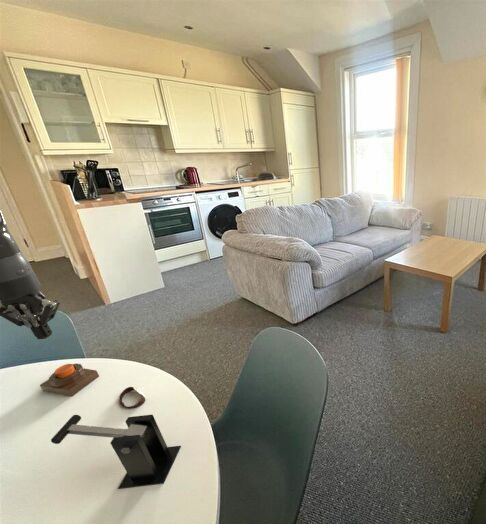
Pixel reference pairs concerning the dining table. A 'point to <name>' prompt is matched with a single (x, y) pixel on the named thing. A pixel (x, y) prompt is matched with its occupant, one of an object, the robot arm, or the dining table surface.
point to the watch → (130, 391)
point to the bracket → (144, 454)
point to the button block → (70, 381)
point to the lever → (97, 430)
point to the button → (64, 371)
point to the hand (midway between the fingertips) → (45, 337)
